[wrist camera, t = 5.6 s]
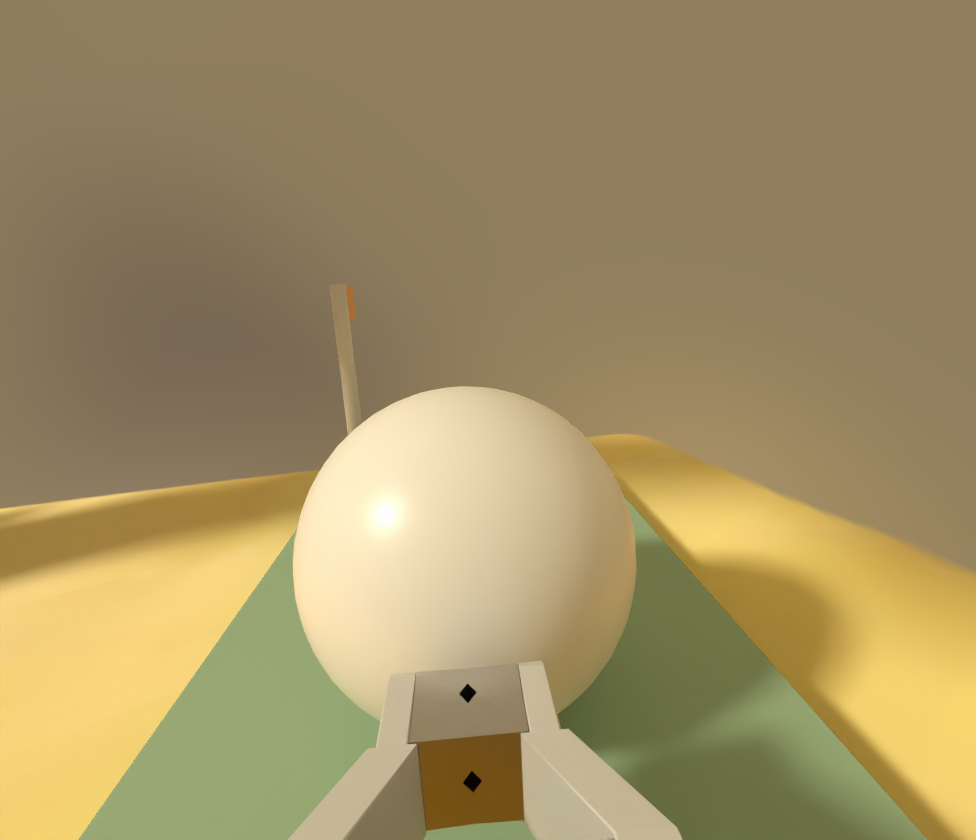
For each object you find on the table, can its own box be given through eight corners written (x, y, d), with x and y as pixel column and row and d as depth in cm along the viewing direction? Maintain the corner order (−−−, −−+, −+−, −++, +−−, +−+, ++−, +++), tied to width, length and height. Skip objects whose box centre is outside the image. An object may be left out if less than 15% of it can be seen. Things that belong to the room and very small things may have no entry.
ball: (259, 705, 16) (200, 404, 13) (469, 571, 23) (455, 360, 21) (492, 968, 9) (457, 472, 7) (683, 665, 16) (698, 374, 14)
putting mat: (1017, 1039, 9) (1302, 109, 6) (-80, 1196, 8) (-640, 177, 5) (584, 474, 40) (583, 275, 37) (342, 492, 39) (315, 288, 36)
